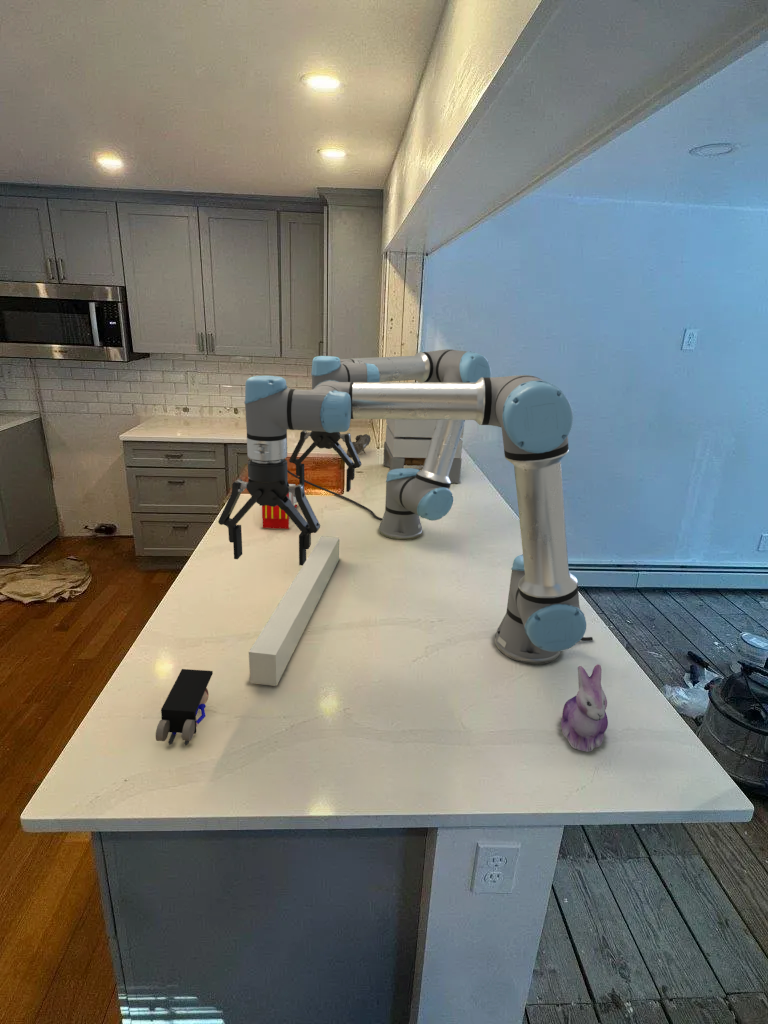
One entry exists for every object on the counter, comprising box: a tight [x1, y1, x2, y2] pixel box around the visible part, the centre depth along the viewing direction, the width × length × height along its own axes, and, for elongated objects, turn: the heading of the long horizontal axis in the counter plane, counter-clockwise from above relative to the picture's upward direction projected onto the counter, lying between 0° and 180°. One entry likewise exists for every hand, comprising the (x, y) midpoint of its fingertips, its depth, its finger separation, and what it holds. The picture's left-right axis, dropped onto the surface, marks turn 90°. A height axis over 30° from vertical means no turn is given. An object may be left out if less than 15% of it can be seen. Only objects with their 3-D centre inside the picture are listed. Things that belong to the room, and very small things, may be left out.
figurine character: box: [155, 668, 214, 746], centre depth 105 cm, size 7×8×15 cm
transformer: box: [383, 419, 465, 484], centre depth 268 cm, size 34×33×41 cm
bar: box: [248, 535, 340, 687], centre depth 147 cm, size 64×6×8 cm, turn 173°
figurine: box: [560, 663, 609, 753], centre depth 105 cm, size 9×10×15 cm
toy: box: [261, 483, 298, 530], centre depth 210 cm, size 12×13×30 cm
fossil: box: [346, 433, 372, 458], centre depth 305 cm, size 22×10×15 cm
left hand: (325, 488), depth 162 cm, fingers open, 13 cm apart
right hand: (270, 559), depth 116 cm, fingers open, 13 cm apart
